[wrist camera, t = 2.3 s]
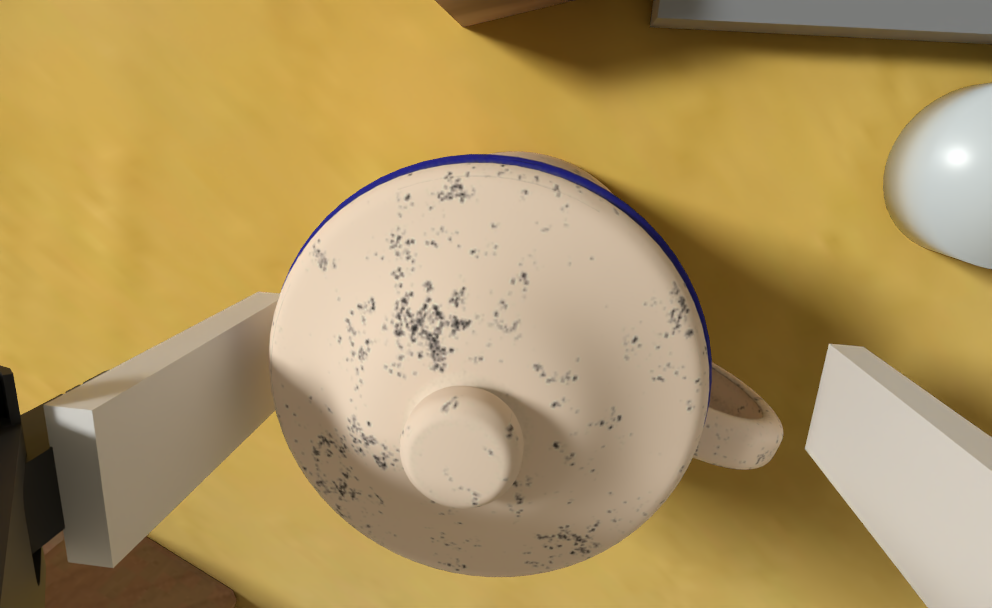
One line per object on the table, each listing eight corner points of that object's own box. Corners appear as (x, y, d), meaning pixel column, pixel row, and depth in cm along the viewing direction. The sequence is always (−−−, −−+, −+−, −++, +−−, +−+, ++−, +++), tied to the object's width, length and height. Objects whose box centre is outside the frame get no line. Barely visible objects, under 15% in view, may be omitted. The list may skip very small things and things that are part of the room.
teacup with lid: (355, 351, 22) (138, 580, 11) (430, 101, 19) (244, 66, 8) (666, 467, 22) (769, 819, 11) (785, 233, 19) (1090, 381, 8)
